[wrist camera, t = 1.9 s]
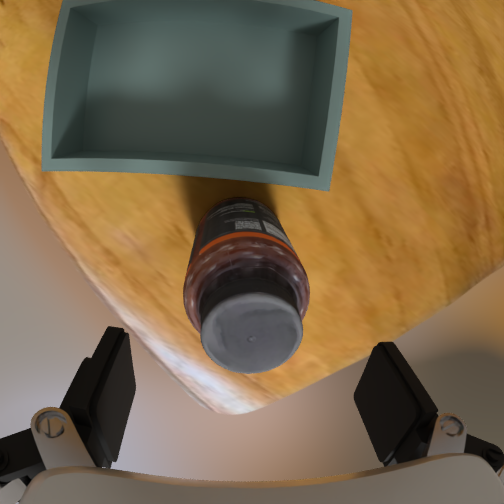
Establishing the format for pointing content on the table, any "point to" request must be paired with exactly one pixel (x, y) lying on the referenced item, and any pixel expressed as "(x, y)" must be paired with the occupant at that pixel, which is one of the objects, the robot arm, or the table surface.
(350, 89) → the table surface
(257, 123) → the box
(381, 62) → the table surface
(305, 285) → the supplement bottle
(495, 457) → the robot arm
